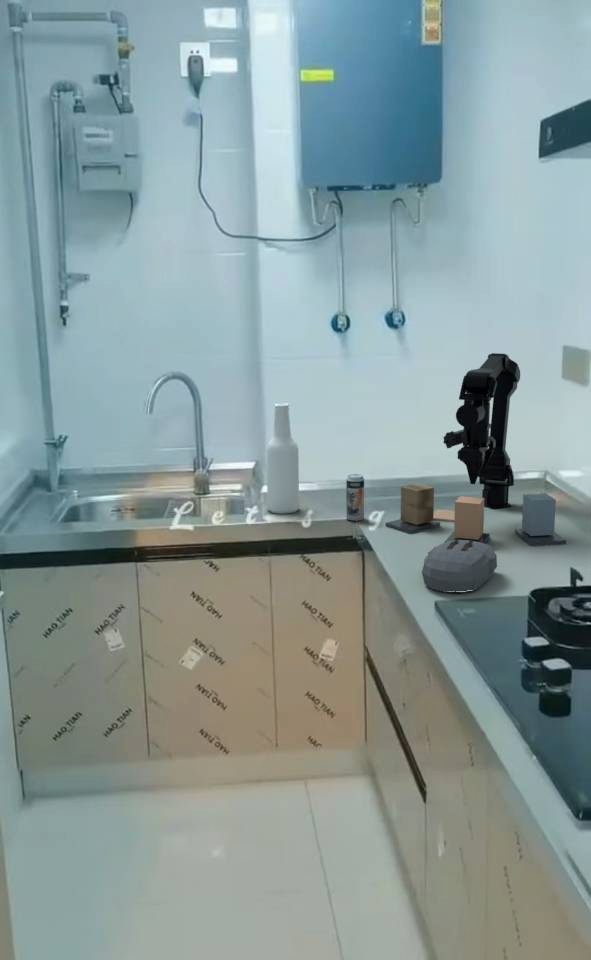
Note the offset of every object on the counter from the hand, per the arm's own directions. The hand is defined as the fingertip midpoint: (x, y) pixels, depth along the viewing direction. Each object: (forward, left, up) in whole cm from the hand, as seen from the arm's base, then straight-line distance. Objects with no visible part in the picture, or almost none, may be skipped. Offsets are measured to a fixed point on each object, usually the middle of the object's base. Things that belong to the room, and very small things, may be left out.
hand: (476, 480), depth 243 cm
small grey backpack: (+27, +35, -12) cm, 46 cm away
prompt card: (+2, -9, -12) cm, 15 cm away
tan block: (+9, +11, -11) cm, 18 cm away
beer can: (+26, -18, -12) cm, 34 cm away
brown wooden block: (+14, -6, -11) cm, 19 cm away
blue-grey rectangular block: (-8, +16, -11) cm, 21 cm away
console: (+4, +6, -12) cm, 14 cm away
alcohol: (+40, -35, -12) cm, 54 cm away
